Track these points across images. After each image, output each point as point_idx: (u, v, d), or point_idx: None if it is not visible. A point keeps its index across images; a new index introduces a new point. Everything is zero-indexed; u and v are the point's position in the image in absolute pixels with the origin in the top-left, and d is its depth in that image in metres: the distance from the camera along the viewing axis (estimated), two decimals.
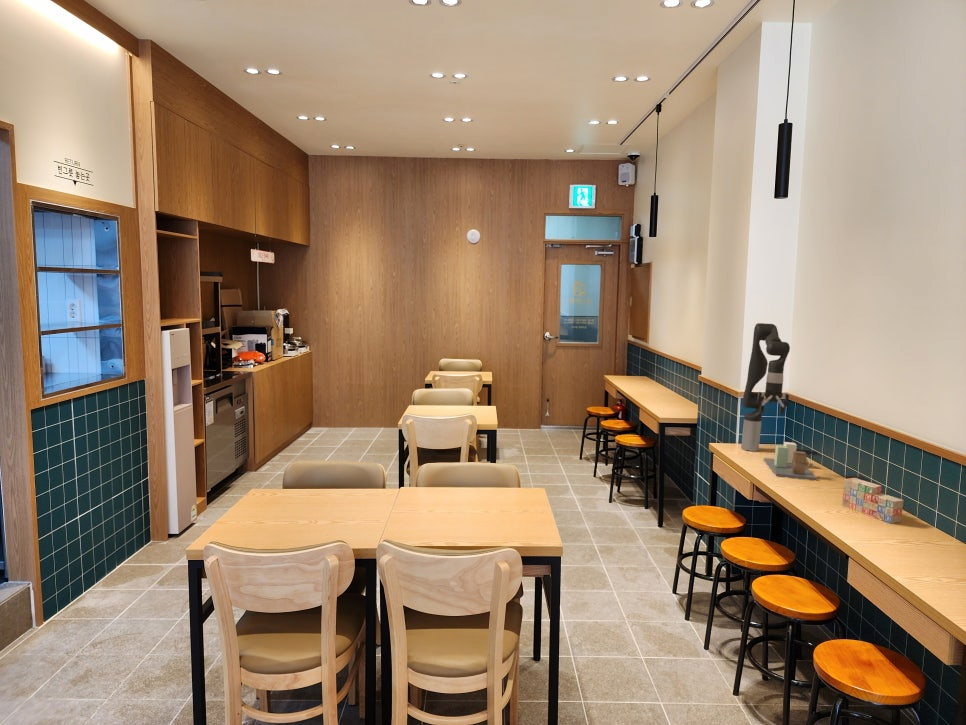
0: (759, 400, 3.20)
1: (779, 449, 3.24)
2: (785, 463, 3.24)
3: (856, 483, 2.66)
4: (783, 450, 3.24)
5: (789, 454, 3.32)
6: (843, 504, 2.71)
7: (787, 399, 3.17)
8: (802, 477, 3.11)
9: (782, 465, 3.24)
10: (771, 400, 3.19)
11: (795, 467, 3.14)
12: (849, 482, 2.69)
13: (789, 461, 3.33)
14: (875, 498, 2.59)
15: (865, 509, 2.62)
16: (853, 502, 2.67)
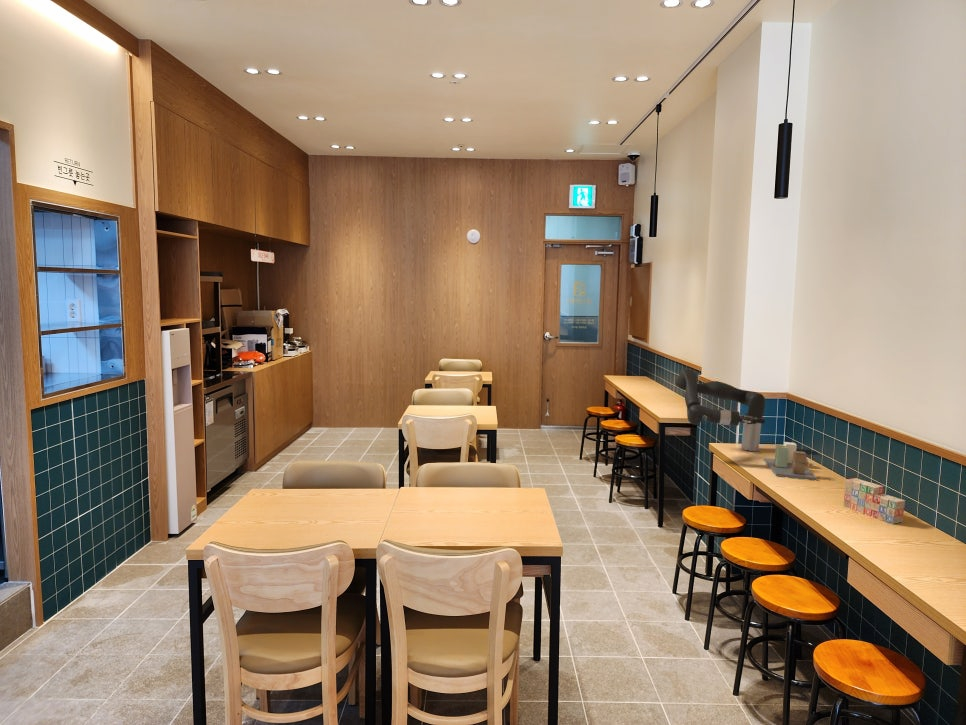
0: (753, 419, 3.24)
1: (779, 449, 3.24)
2: (785, 463, 3.24)
3: (857, 483, 2.65)
4: (783, 450, 3.24)
5: (789, 454, 3.32)
6: (844, 504, 2.71)
7: None
8: (802, 477, 3.11)
9: (782, 465, 3.24)
10: None
11: (795, 467, 3.14)
12: (850, 482, 2.68)
13: (789, 461, 3.33)
14: (876, 498, 2.58)
15: (867, 510, 2.62)
16: (855, 502, 2.66)
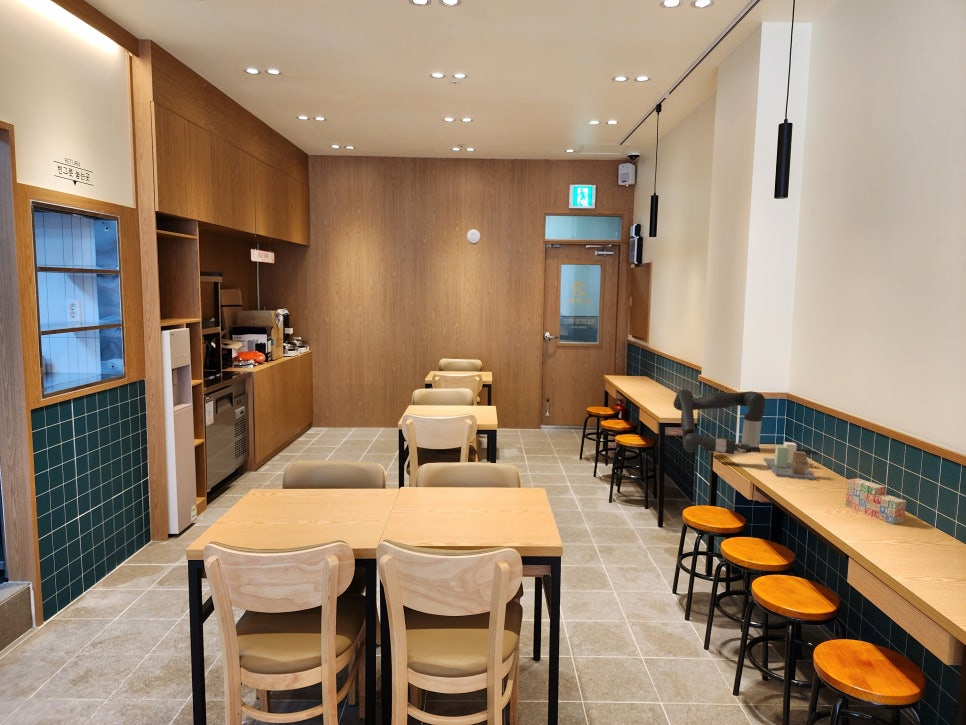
0: (748, 447, 3.26)
1: (779, 449, 3.24)
2: (785, 463, 3.24)
3: (859, 483, 2.65)
4: (783, 450, 3.24)
5: (789, 454, 3.32)
6: (846, 504, 2.71)
7: None
8: (802, 477, 3.11)
9: (782, 465, 3.24)
10: None
11: (795, 467, 3.14)
12: (852, 482, 2.68)
13: (789, 461, 3.33)
14: (877, 499, 2.58)
15: (868, 510, 2.62)
16: (856, 502, 2.66)
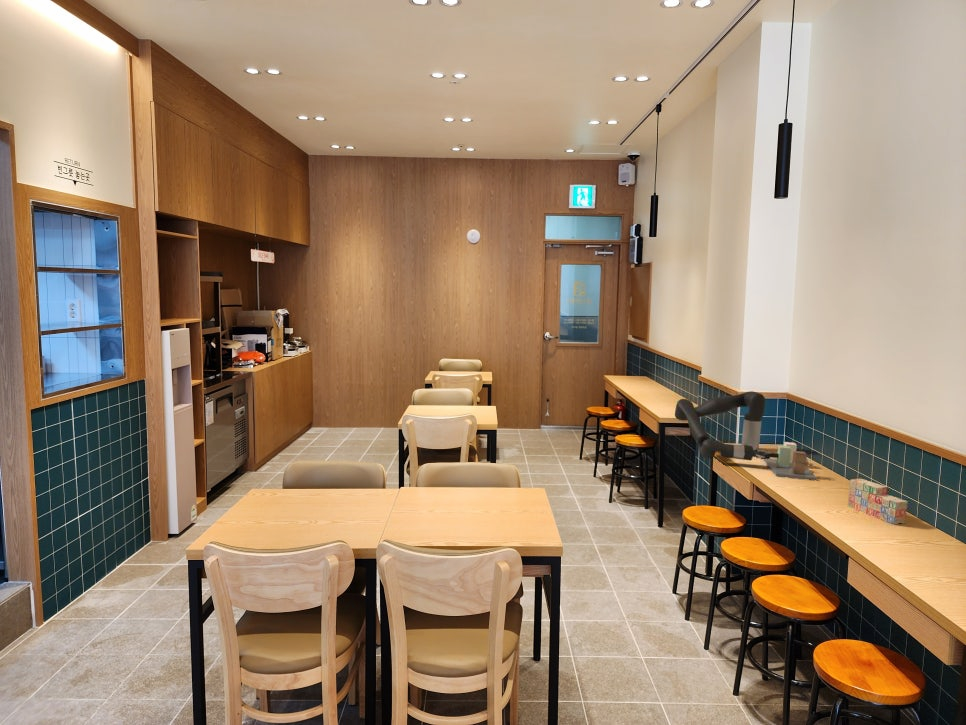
0: (767, 453, 3.25)
1: (781, 449, 3.24)
2: (787, 463, 3.24)
3: (861, 483, 2.66)
4: (785, 450, 3.23)
5: None
6: (849, 504, 2.71)
7: None
8: (802, 477, 3.11)
9: (784, 465, 3.24)
10: None
11: (795, 467, 3.14)
12: (854, 482, 2.68)
13: None
14: (878, 499, 2.58)
15: (869, 510, 2.62)
16: (858, 502, 2.67)
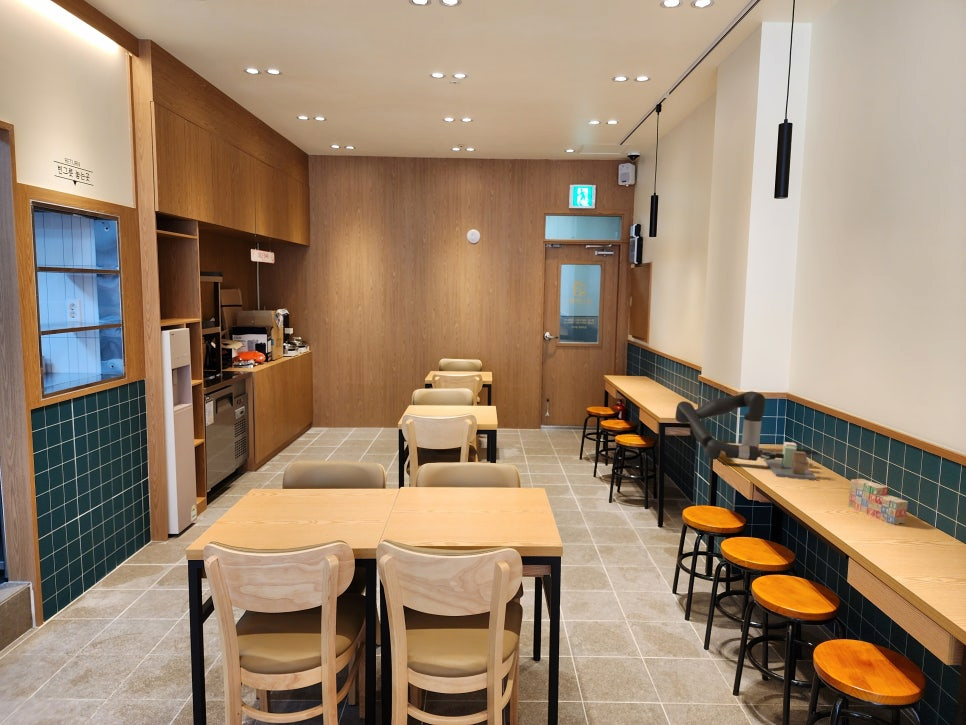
0: (772, 454, 3.24)
1: (786, 450, 3.23)
2: None
3: (862, 483, 2.66)
4: (790, 451, 3.23)
5: None
6: (849, 504, 2.71)
7: (766, 450, 3.32)
8: (802, 477, 3.11)
9: (789, 466, 3.24)
10: None
11: (795, 467, 3.14)
12: (855, 482, 2.68)
13: None
14: (879, 499, 2.58)
15: (870, 510, 2.62)
16: (859, 502, 2.67)
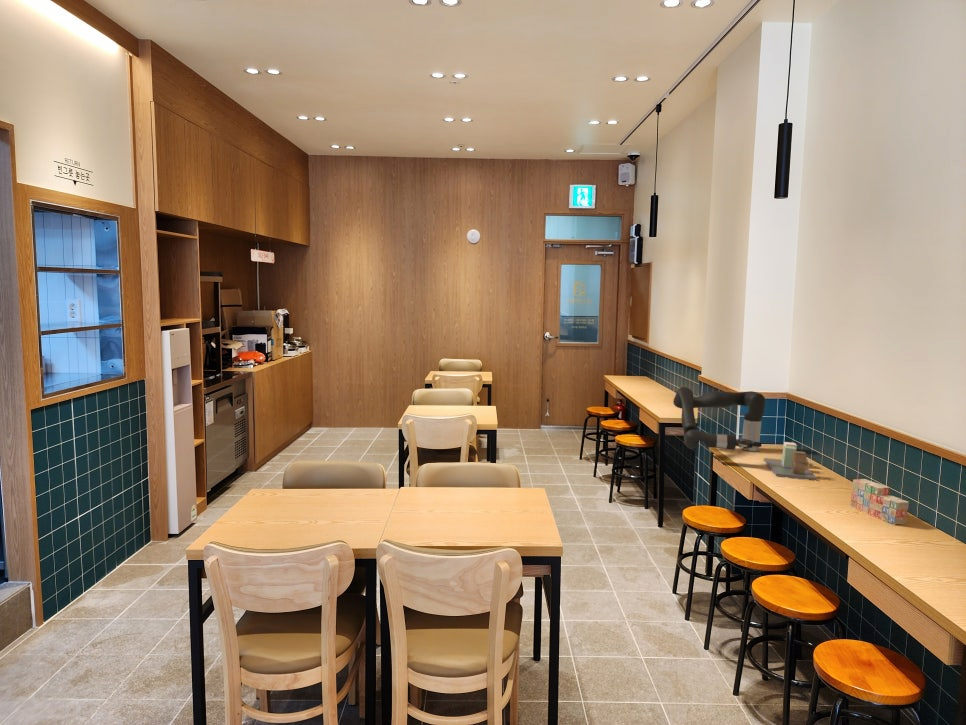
0: (749, 442, 3.26)
1: (786, 450, 3.23)
2: None
3: (863, 484, 2.66)
4: (790, 451, 3.23)
5: None
6: (851, 504, 2.71)
7: None
8: (802, 477, 3.11)
9: (789, 466, 3.24)
10: None
11: (795, 467, 3.14)
12: (857, 482, 2.68)
13: None
14: (880, 499, 2.58)
15: (871, 510, 2.62)
16: (861, 503, 2.67)
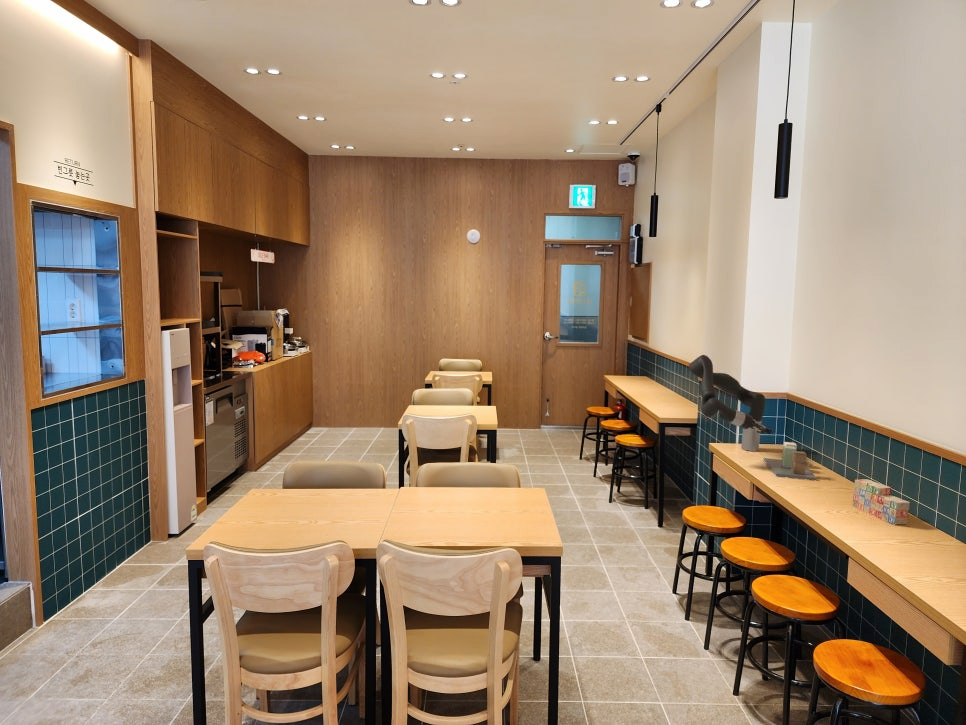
0: (763, 428, 3.26)
1: (786, 450, 3.23)
2: None
3: (865, 484, 2.66)
4: (790, 451, 3.23)
5: None
6: (853, 504, 2.71)
7: (756, 421, 3.33)
8: (802, 477, 3.11)
9: (789, 466, 3.24)
10: None
11: (795, 467, 3.14)
12: (859, 483, 2.69)
13: None
14: (881, 499, 2.58)
15: (872, 510, 2.62)
16: (862, 503, 2.67)
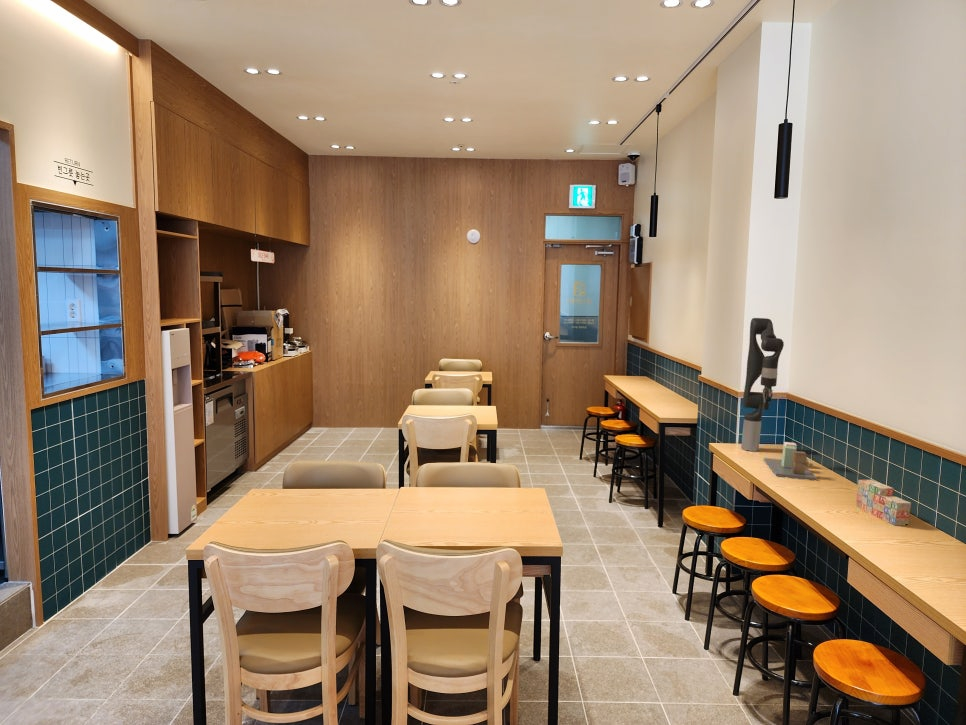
0: None
1: (786, 450, 3.23)
2: None
3: (867, 484, 2.65)
4: (790, 451, 3.23)
5: None
6: (856, 505, 2.71)
7: None
8: (802, 477, 3.11)
9: (789, 466, 3.24)
10: None
11: (795, 467, 3.14)
12: (862, 483, 2.68)
13: None
14: (882, 499, 2.58)
15: (874, 510, 2.62)
16: (865, 503, 2.67)
